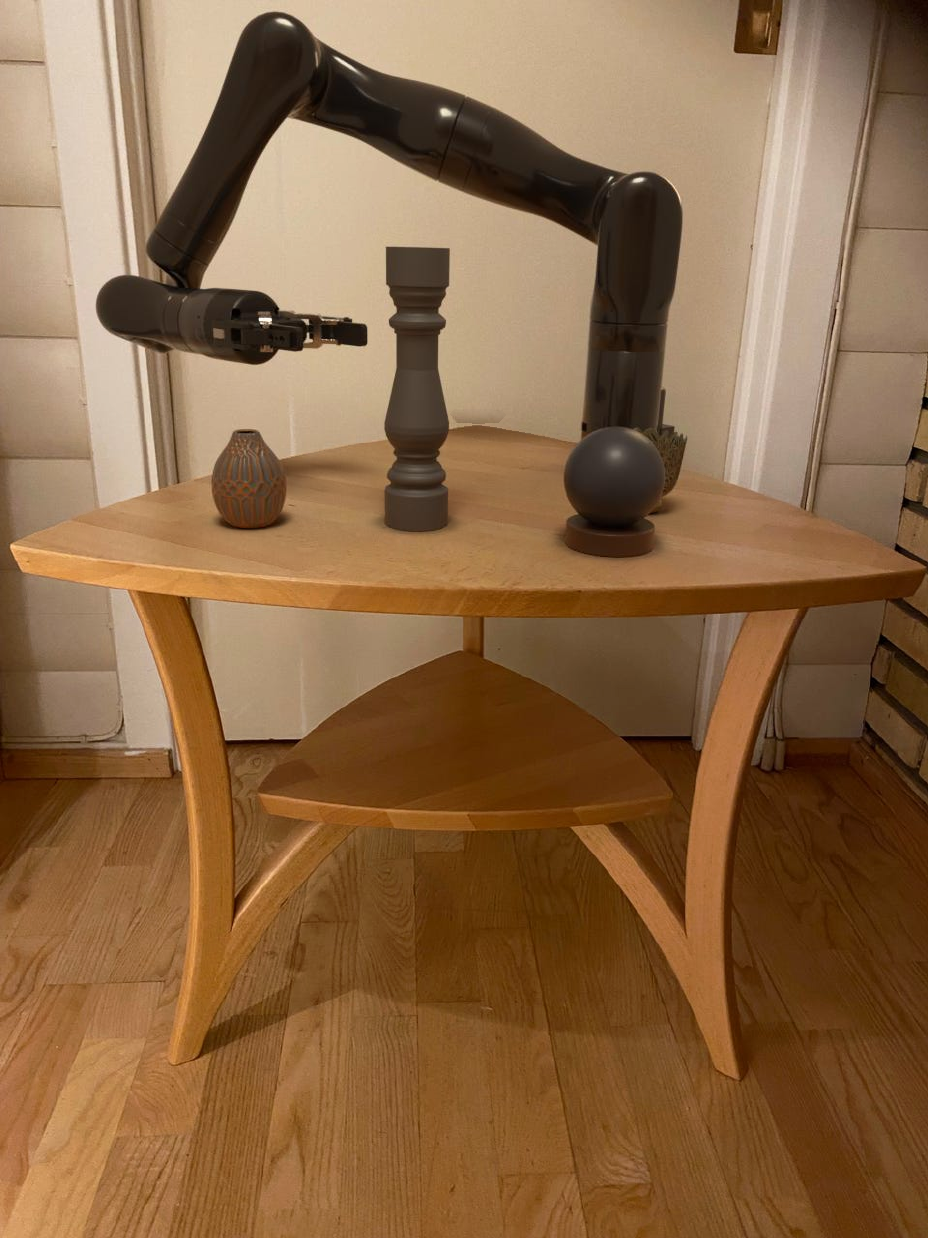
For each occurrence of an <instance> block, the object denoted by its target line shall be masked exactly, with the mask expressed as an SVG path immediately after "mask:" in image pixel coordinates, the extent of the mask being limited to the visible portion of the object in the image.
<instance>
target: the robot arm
mask: <svg viewBox="0 0 928 1238" xmlns="http://www.w3.org/2000/svg"><path fill="white" fill-rule="evenodd" d="M221 86H222V87H221V90H220V92H219V96H218V97H217V100H216V103H215V105H214V107H213V111H212V113H211V114H210V118H209V120H208V122H207V125H206V127H205V128H204V129H205V130H204V132H203V134H202V136H201V138H200V141H199V142H198V144H197V146H196V149H195V150H194V153H193V155H192V156H191V158H190V160H189V162H188V164H187V166H186V168H185V170H184V172H183V173H182V176H181V178H180V179H179V181H178V183H177V185H176V186H175V188H174V190H173V192H172V194H171V196H170V197H169V199H168V201H167V203H166V204H165V207H164V208H163V210H162V212H161V214H160V216H159V217H158V219H157V221H156V223H155V225H154V226H153V227H154V228H153V229H152V231H151V232H150V234H149V236H148V238H147V240H146V242H145V248H144V249H145V255H146V256H147V258H148V259H149V260H150V262H152V263H153V264H154V265H155V266H156V267H157V268H158V269H159V270H160V271H162V272H163V273H164V274H165V282H161V281H157V280H153V279H151V278H147V277H143V276H139V275H135V274H121V275H117V276H116V275H115V277H112V278H110V279H108V281H106V282H105V283H104V284H103V285H102V286H101V287H100V288H99V291H98V293H97V296H96V299H95V312H96V317H97V319H98V321H99V323H100V324H101V326H102V327H103V328H104V329H105V330H106V331H107V332H108V333H109V334H110V335H113V336H115V337H117V338H120V339H122V340H124V341H128V342H129V343H132V344H135V345H137V346H140V347H142V348H144V349H146V350H149V351H151V352H154V353H157V354H167V353H171V352H173V351H175V350H177V351H178V352H184V353H188V354H195V355H202V356H205V357H206V358H210V359H214V360H218V361H224V362H231V363H238V364H244V365H251V366H258V365H263V364H265V363H268V362H270V360H272V359H273V358H274V357H275V356H276V354H278V352H279V350H280V351H285V352H286V351H288V352H295V353H297V352H302V351H303V350H304V349H313V350H314V349H316V350H317V349H320V348H321V347H323V345H336V346H337V347H338V346H339V347H341V346H342V345H343V346H352V347H366V346H367V345H368V342H369V341H368V325H367V324H366V323H362V322H361V323H360V322H353V318H350V317H349V316H344V317H339V316H337V317H336V316H328V315H327V316H326V315H322V314H320V313H312V312H311V313H310V312H308V313H307V312H295V310H291V309H280V307H279V305H278V304H277V302H276V301H275V300H274V299H273V298H272V297H271V296H269V294H267V293H266V292H262V291H259V290H252V289H238V288H227V287H209V288H201V287H202V284H203V283H202V282H203V279H204V277H205V273H206V271H207V270H208V268H209V266H210V264H211V263H212V261H213V260H214V258H215V256H216V254H217V253H218V251H219V249H220V247H221V245H222V243H223V242H224V240H225V239H226V237H227V234H228V232H229V231H230V229H231V227H232V224H233V222H234V220H235V218H236V215H237V213H238V211H239V207H240V205H241V202H242V199H243V198H244V197H243V196H244V194H245V192H246V188H247V186H248V183H249V182H250V179H251V176H252V174H253V172H254V169H255V167H256V166H257V163H258V161H259V159H260V158H261V156H262V154H263V152H264V150H265V149H266V147H267V145H268V144H269V142H270V141H271V139H272V138H273V136H274V135H275V134H276V132H277V131H278V130H279V128H281V125H282V124H284V122H285V121H286V119H291V120H297V121H300V122H304V123H307V124H310V125H314V126H318V127H321V128H324V129H327V130H331V131H334V132H337V133H339V134H343V135H346V136H348V137H351V138H353V139H355V140H358V141H359V142H360V141H361V142H363V143H365V144H366V145H368V146H369V147H372V148H373V149H375V150H377V151H378V152H380V153H382V154H383V155H385V156H387V157H388V158H391V159H392V160H393V161H395V162H397V163H399V164H401V165H403V166H405V167H407V168H409V169H410V170H413V171H414V172H417V173H418V174H420V175H422V176H424V177H426V178H428V179H431V180H433V181H435V182H438V183H440V184H441V185H445V186H447V187H449V188H452V189H453V190H457V191H459V192H461V193H463V194H466V195H469V196H472V197H475V198H477V199H480V200H483V201H485V202H489V203H492V204H495V205H497V206H502V207H505V208H509V209H511V210H516V211H519V212H523V213H527V214H531V215H534V216H537V217H540V218H543V219H546V220H548V221H550V222H552V223H555V224H557V225H559V226H561V227H563V228H565V229H567V230H568V231H570V232H571V233H574V234H576V235H578V236H580V237H581V238H583V239H584V240H587V241H588V242H590V243H592V244H593V245H595V246H597V252H596V262H595V263H596V264H595V277H594V284H593V289H592V293H591V296H590V302H589V312H588V313H589V314H588V330H587V332H588V333H587V345H586V347H587V348H586V361H585V374H584V375H585V376H584V392H583V403H582V417H581V418H582V419H581V421H580V432H581V433H580V441H581V440H582V439H583V438H584V437H585V436H587V435H588V434H590V433H592V432H594V431H596V430H599V429H602V428H606V427H625V428H629V429H632V430H633V429H634V428H636V427H638V428H639V429H640V430H641V433H642V432H643V431H645V430H646V429H649V428H654V429H655V430H656V431H657V432H658V434H659V435H660V436H662V432H664V431H666V430H668V436H669V439H670V437H671V435H672V434H673V433H675V427H676V426H675V425H670V424H665V423H664V414H665V405H666V404H665V403H666V394H667V393H666V392H667V391H666V388H665V387H663V377H664V366H665V357H666V346H667V334H668V327H669V326H668V325H669V324H668V322H669V315H670V309H671V306H672V302H673V299H674V296H675V292H676V285H677V277H678V269H679V261H680V254H681V253H680V252H681V245H682V244H681V243H682V234H683V224H684V223H683V222H684V218H683V217H684V213H683V212H684V211H683V203H682V199H681V196H680V194H679V191H678V190H677V188H676V187H675V185H674V184H673V183H672V182H671V181H670V180H669V179H667V178H666V177H665V176H663V175H662V174H659V173H656V172H653V171H646V170H645V171H644V170H643V171H634V172H631V173H626V172H623V171H619V170H614V169H611V168H608V167H605V166H602V165H600V164H596V163H593V162H591V161H588V160H584V159H582V158H579V157H578V156H575V155H572V154H571V153H569V152H567V151H565V150H563V149H561V148H560V147H558V146H557V145H556V144H554V143H552V142H551V141H549V139H547V138H545V137H543V136H542V135H541V134H539V133H538V132H536V131H535V130H533V129H532V128H530V127H529V126H527V125H526V124H524V123H522V122H521V121H520V120H518V119H516V118H514V117H512V116H511V115H508V114H507V113H505V112H503V111H502V110H500V109H497V108H496V107H493V106H490V105H489V104H487V103H484V102H482V101H479V100H477V99H475V98H472V97H470V96H468V95H467V96H466V94H464V93H460V92H458V91H455V90H453V89H449V88H446V87H443V86H440V85H436V84H431V83H428V82H425V81H420V80H415V79H410V78H406V77H401V76H396V75H391V74H388V73H384V72H381V71H378V70H376V69H374V68H371V67H369V66H367V65H365V64H363V63H361V62H359V61H357V60H355V59H354V58H351V57H349V56H348V55H346V54H344V53H342V52H340V51H339V50H337V49H335V48H333V47H332V46H330V45H328V44H327V43H325V42H324V41H322V40H320V39H319V38H317V37H316V36H315V35H314V34H313V32H312V31H311V29H309V28H308V26H306V24H305V23H304V22H303V21H301V20H300V19H299V18H297V17H295V16H294V15H292V14H289V13H286V12H283V11H276V10H275V11H267V12H264V13H262V14H258V15H257V16H256V17H254V18H253V19H251V20H250V21H249V22H248V23H247V24H246V25H245V26H244V27H243V29H242V31H241V33H240V35H239V37H238V40H237V41H236V46H235V48H234V51H233V54H232V57H231V61H230V63H229V66H228V69H227V72H226V75H225V78H224V80H223V82H222V85H221ZM304 320H308V322H306V321H304ZM308 338H309V340H312V341H306V340H307V339H308Z"/></svg>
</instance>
